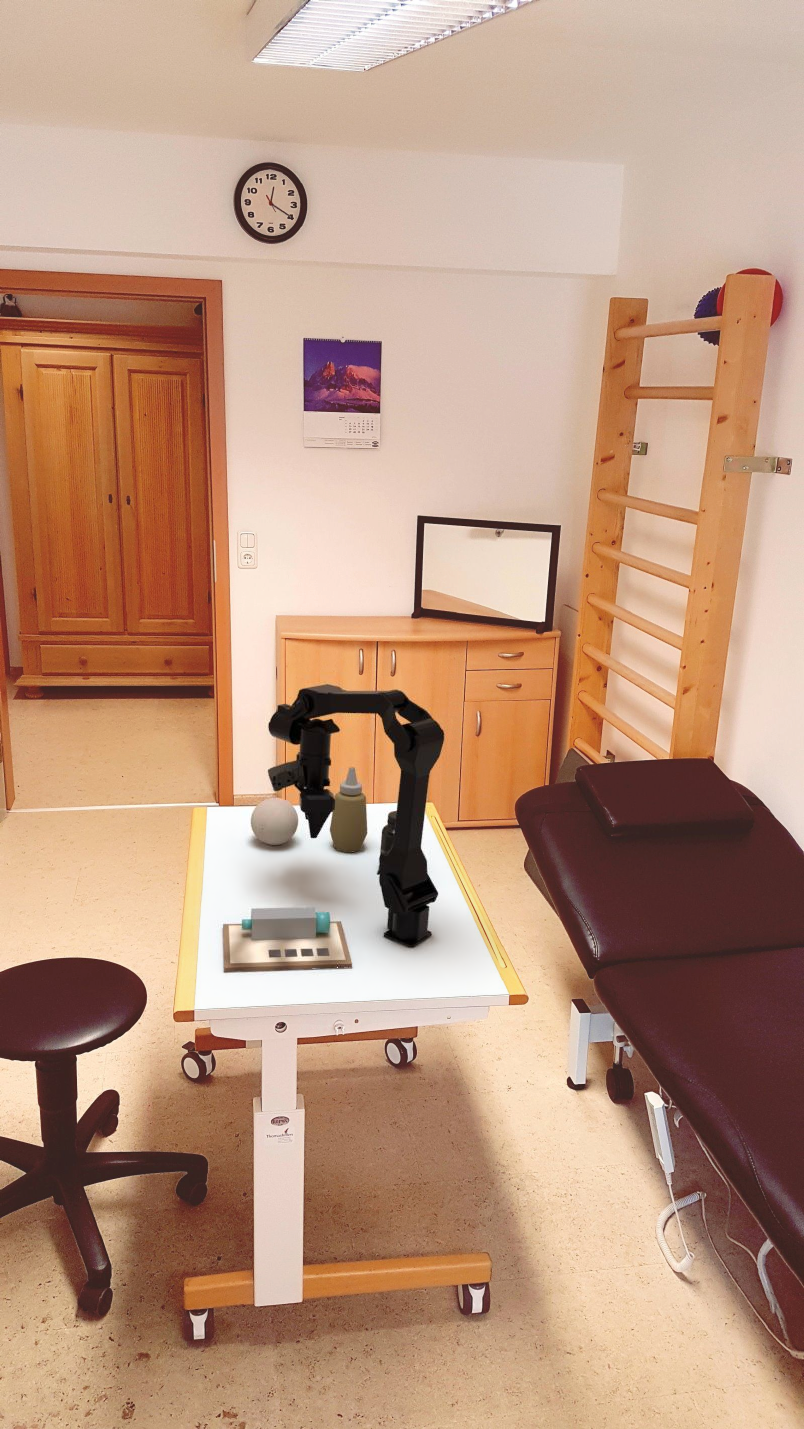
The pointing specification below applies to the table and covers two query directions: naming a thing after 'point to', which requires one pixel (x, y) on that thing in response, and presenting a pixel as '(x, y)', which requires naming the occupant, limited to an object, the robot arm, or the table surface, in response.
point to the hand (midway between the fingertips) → (310, 828)
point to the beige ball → (274, 821)
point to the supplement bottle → (388, 833)
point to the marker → (286, 923)
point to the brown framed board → (284, 951)
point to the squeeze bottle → (349, 815)
